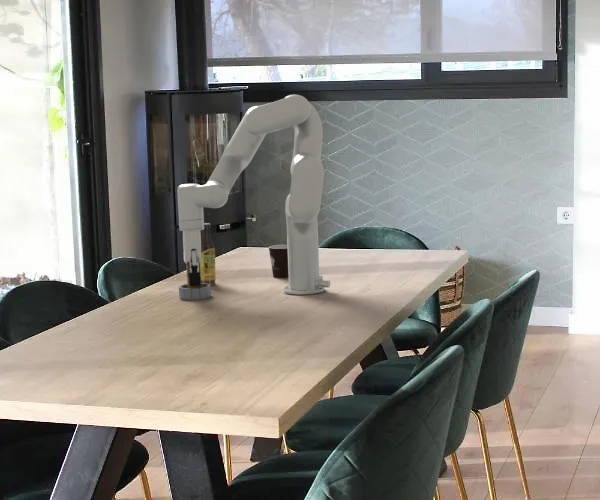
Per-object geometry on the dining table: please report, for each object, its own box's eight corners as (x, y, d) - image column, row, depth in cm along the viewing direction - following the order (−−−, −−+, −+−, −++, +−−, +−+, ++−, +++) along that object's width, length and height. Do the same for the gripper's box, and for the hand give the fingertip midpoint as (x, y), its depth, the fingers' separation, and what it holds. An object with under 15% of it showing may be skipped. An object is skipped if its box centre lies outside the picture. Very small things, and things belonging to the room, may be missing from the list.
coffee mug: (295, 278, 367) (294, 248, 365) (269, 279, 367) (268, 249, 365) (296, 272, 378) (295, 243, 377) (270, 273, 378) (269, 243, 377)
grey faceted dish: (209, 292, 347) (209, 282, 346) (211, 298, 337) (211, 287, 337) (178, 294, 345) (178, 284, 345) (180, 300, 336) (179, 289, 335)
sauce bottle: (206, 287, 357) (204, 225, 354) (192, 285, 360) (189, 224, 357) (220, 283, 362) (217, 222, 359) (206, 282, 366) (203, 222, 363)
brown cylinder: (200, 289, 343) (199, 257, 342) (201, 291, 339) (199, 259, 338) (187, 290, 343) (186, 258, 341) (188, 292, 339) (186, 260, 337)
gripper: (178, 222, 346) (181, 280, 348) (180, 229, 329) (183, 290, 332) (202, 220, 347) (205, 279, 349) (205, 227, 330) (208, 288, 333)
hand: (194, 283), depth 341 cm, fingers closed on brown cylinder, 3 cm apart
